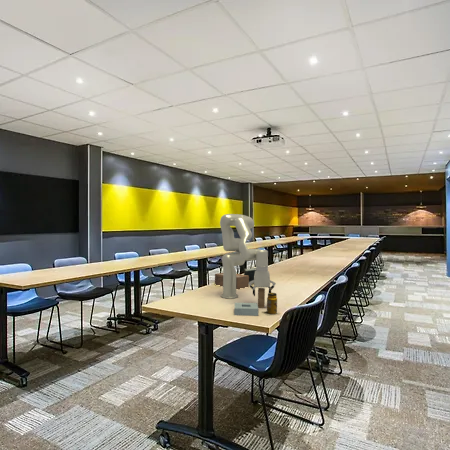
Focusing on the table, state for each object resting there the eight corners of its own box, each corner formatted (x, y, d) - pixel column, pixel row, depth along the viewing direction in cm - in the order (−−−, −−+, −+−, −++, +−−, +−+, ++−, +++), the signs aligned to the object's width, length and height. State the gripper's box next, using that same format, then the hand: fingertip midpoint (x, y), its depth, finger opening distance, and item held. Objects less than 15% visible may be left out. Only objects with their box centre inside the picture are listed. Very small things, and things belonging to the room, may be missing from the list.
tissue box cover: (214, 285, 289) (214, 273, 289) (226, 283, 299) (226, 272, 299) (237, 290, 271) (237, 277, 271) (248, 287, 281) (248, 275, 281)
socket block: (234, 308, 211) (234, 302, 211) (257, 309, 210) (257, 303, 210) (234, 315, 197) (234, 308, 197) (258, 315, 196) (258, 308, 196)
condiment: (279, 314, 201) (280, 294, 201) (267, 315, 197) (267, 295, 197) (273, 311, 207) (273, 291, 207) (261, 312, 204) (261, 292, 204)
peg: (257, 306, 218) (258, 287, 218) (264, 306, 218) (264, 288, 218) (258, 307, 214) (258, 289, 214) (264, 308, 214) (264, 289, 214)
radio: (243, 285, 292) (243, 267, 292) (241, 283, 300) (241, 266, 300) (269, 284, 296) (269, 267, 296) (266, 282, 305) (266, 266, 305)
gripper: (248, 269, 212) (248, 297, 212) (276, 270, 212) (276, 297, 212) (248, 268, 220) (248, 294, 220) (274, 268, 219) (274, 294, 219)
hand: (261, 295), depth 216 cm, fingers open, 9 cm apart
